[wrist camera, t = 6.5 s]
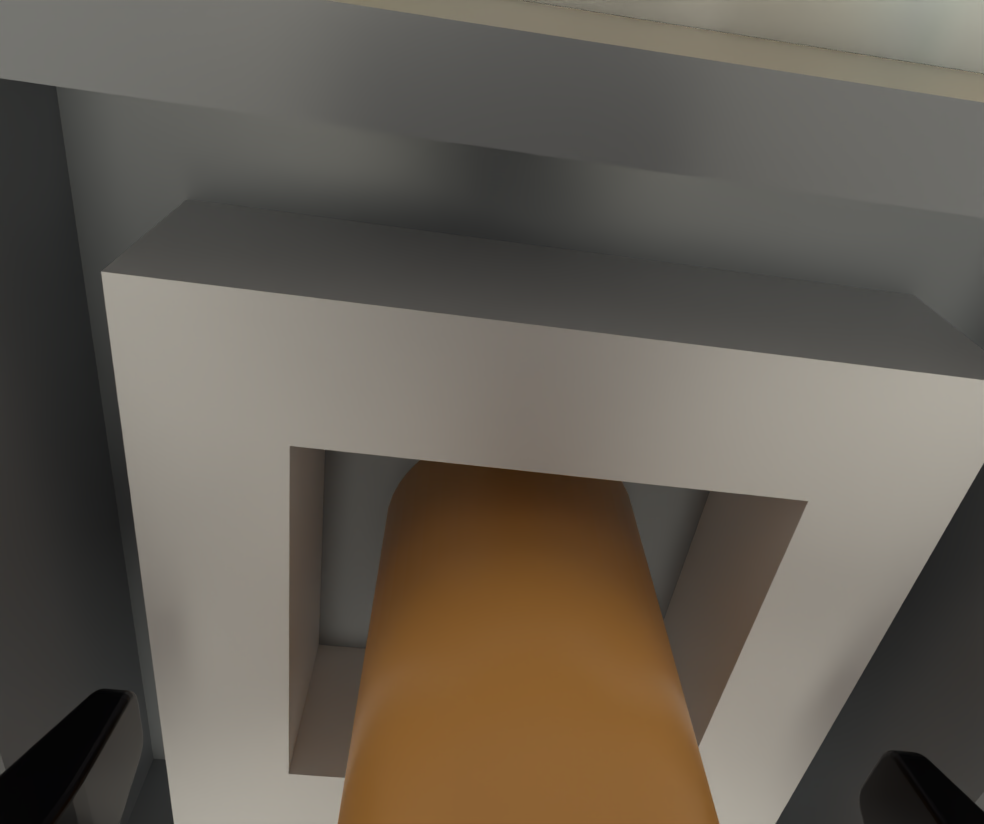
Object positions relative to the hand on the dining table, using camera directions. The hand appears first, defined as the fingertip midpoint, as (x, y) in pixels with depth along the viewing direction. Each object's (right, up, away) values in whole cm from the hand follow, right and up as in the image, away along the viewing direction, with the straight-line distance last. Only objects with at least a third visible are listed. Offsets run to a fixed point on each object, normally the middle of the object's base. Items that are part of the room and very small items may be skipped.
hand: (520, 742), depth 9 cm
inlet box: (0, +2, +4) cm, 5 cm away
